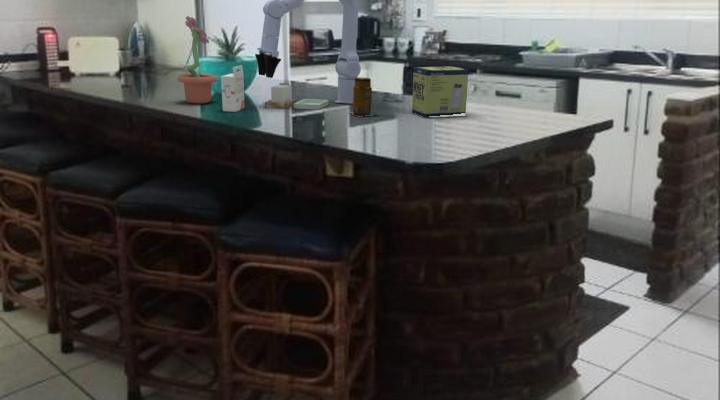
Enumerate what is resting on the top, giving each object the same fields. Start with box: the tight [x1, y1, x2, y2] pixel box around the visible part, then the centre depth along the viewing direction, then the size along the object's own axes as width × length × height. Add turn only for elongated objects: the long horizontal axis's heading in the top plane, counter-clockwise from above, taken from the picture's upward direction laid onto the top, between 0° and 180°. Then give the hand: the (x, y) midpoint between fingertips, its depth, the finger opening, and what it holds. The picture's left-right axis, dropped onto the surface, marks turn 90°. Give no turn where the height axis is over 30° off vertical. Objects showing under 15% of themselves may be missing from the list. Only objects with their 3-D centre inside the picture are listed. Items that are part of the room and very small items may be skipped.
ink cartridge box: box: [220, 64, 246, 113], centre depth 214 cm, size 9×5×15 cm, turn 168°
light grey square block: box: [270, 82, 292, 103], centre depth 225 cm, size 4×8×8 cm, turn 166°
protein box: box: [411, 65, 469, 118], centre depth 211 cm, size 10×16×16 cm
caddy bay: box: [264, 98, 298, 110], centre depth 225 cm, size 8×11×2 cm
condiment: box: [352, 77, 373, 118], centre depth 209 cm, size 7×8×12 cm
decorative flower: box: [177, 15, 218, 105], centre depth 225 cm, size 15×14×30 cm
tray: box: [293, 98, 329, 111], centre depth 225 cm, size 9×13×2 cm
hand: (265, 76), depth 220 cm, fingers open, 7 cm apart
